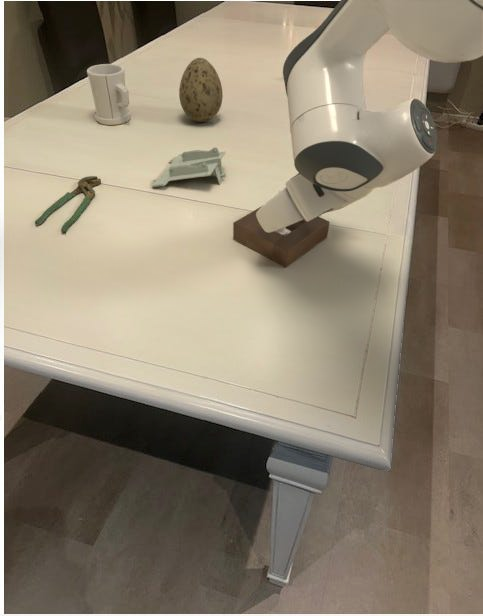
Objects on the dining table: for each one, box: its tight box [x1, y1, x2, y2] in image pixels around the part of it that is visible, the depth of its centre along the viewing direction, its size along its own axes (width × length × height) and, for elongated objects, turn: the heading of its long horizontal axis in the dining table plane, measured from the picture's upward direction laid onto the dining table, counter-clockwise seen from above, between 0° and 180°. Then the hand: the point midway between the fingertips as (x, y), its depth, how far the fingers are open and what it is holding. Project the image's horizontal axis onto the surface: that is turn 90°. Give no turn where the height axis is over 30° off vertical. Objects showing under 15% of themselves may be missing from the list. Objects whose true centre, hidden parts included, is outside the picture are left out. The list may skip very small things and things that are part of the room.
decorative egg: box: [178, 57, 224, 123], centre depth 120 cm, size 11×11×15 cm
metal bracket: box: [151, 146, 227, 188], centre depth 102 cm, size 14×6×15 cm
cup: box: [86, 63, 131, 126], centre depth 120 cm, size 10×9×12 cm
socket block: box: [232, 203, 330, 268], centre depth 85 cm, size 12×12×4 cm
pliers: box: [34, 175, 102, 234], centre depth 93 cm, size 20×7×1 cm, turn 165°
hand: (279, 211), depth 83 cm, fingers open, 8 cm apart
